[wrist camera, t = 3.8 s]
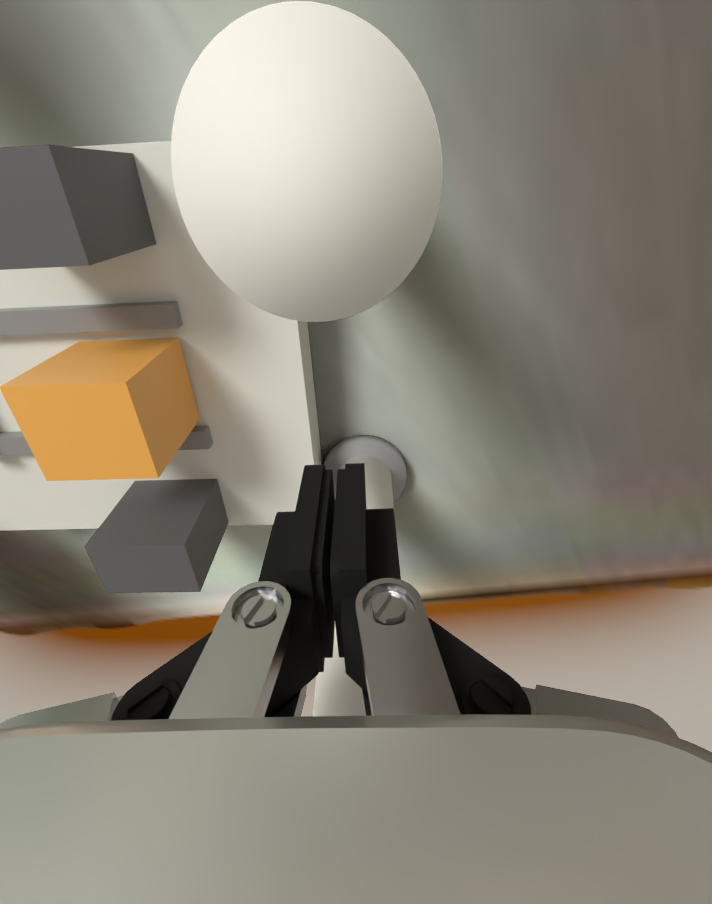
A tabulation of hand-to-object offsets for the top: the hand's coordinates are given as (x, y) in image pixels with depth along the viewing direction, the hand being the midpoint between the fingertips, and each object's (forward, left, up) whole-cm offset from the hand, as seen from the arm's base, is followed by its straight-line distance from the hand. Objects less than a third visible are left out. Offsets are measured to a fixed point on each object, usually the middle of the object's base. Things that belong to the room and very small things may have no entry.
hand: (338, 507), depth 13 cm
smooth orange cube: (+10, 0, -9) cm, 13 cm away
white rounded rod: (0, -8, -12) cm, 15 cm away
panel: (+12, 0, -12) cm, 17 cm away
